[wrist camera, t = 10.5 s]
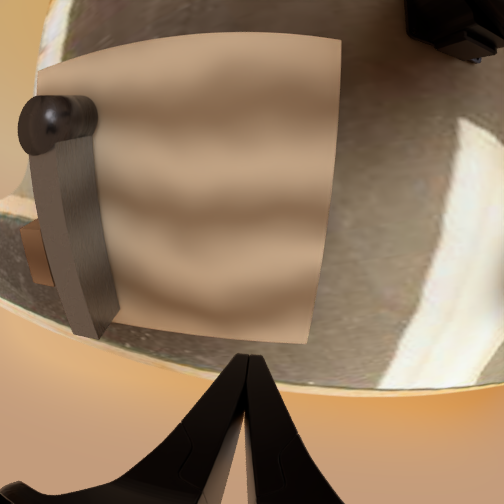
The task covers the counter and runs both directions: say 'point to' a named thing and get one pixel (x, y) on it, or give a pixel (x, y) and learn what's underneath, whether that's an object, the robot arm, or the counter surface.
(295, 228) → the tan flat square sheet
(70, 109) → the swing bar
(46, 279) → the block
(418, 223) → the counter surface
